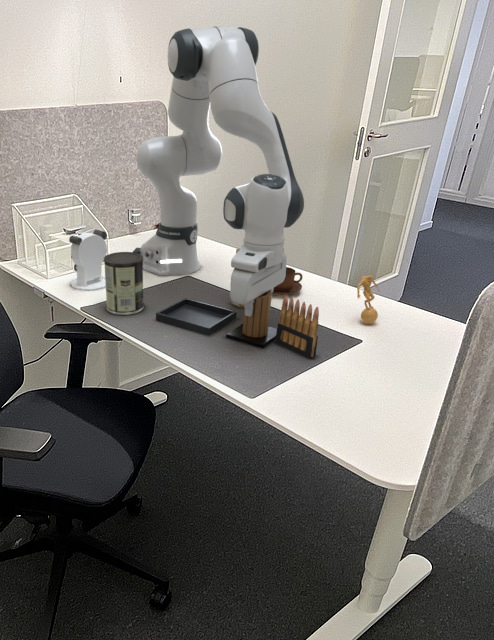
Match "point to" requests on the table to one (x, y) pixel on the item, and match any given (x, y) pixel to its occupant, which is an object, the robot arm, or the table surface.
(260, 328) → the wooden pen holder
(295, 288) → the cup and saucer
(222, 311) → the desk tray
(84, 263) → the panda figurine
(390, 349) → the table surface
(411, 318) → the table surface
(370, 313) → the figurine
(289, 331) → the ammunition clip
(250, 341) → the stand
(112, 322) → the table surface
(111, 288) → the coffee can
